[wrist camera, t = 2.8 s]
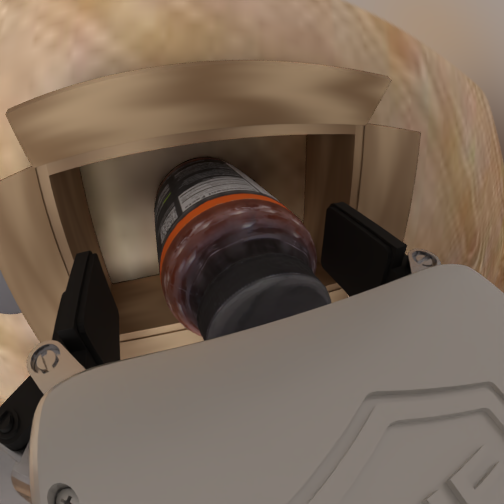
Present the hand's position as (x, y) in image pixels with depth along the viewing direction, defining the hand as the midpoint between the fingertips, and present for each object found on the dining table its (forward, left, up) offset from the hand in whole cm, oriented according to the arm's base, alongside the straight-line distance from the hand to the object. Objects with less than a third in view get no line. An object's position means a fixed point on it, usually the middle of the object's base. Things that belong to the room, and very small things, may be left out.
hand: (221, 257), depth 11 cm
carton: (-1, +1, -7) cm, 7 cm away
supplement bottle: (-1, +1, -8) cm, 8 cm away
